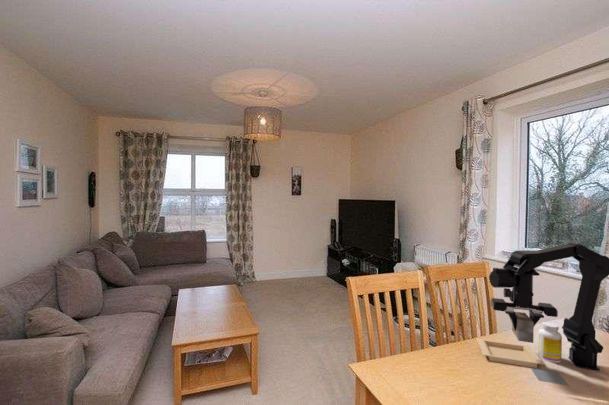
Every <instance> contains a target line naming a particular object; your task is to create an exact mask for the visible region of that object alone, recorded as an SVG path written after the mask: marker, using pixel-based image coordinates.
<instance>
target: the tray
mask: <svg viewBox="0 0 609 405" xmlns="http://www.w3.org/2000/svg"><path fill="white" fill-rule="evenodd" d="M476 342H477V343H478V346H479V348H480V351H481V352H482V355H483V356H485V357H488V360H489V361H490V362H497V363H502V364H510V365H517V366H522V367H529V368H530V367H531V368H538V365H543V366H545V362H543V361H542V358H540V357H539V355H538V353H536V351H535V350H534V349H533V348H532V346H531V345H525V344H524V345H522V344H515V343H508V342H500V341H496V340H495V341H493V340H487V339H486V340H485V339H481V338H476Z"/></svg>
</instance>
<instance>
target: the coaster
mask: <svg viewBox="0 0 609 405" xmlns="http://www.w3.org/2000/svg"><path fill="white" fill-rule="evenodd" d="M529 369H531V371H532V373H533V374H534V376H536V379H537V380H538V381H539V382H545V383H552V384H555V385H556V384H558V385H564V386H568V387H570V386H571V385H570V384H569V383H568V382H567V381H566V379H565V377H563V375H562V374H561V373H560V371H557V370H556V371H555V370H550V369H543V368H538V367H537V368H534V367H529Z"/></svg>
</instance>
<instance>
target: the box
mask: <svg viewBox="0 0 609 405" xmlns="http://www.w3.org/2000/svg"><path fill="white" fill-rule="evenodd" d="M514 312H515V313H516V330H514V328H513V325H512V324H511V331H512V332H513V334H514V336H515V338H516V339H517V340H518V341H519V342H524V343H532V344H534V327H535V326H534V322H533V321H532V320H531V319H530V318H529V315H528V314H527V313H526V312H522V311H521V312H520V311H514Z"/></svg>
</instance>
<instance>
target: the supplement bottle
mask: <svg viewBox="0 0 609 405" xmlns="http://www.w3.org/2000/svg"><path fill="white" fill-rule="evenodd" d="M541 326H542V328H540V329H539V330H538V347H537V348H538V350H537V351H538V352H537V355H538V357H539V358H540V359H541V360H544V361H546V362H550V363H554V364H555V363H561V362H562V353H563V352H562V347H563V345H562V343H563V340H562V339H563V336H562V334H561V333H560V332H559V330H560V329H559V325H558V324H556V323H553V322H550V321H543V322H542V323H541Z"/></svg>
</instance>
